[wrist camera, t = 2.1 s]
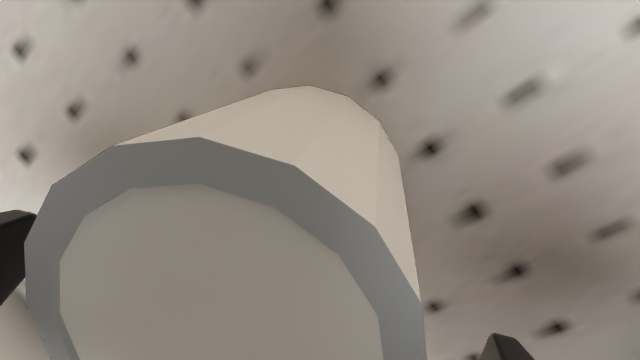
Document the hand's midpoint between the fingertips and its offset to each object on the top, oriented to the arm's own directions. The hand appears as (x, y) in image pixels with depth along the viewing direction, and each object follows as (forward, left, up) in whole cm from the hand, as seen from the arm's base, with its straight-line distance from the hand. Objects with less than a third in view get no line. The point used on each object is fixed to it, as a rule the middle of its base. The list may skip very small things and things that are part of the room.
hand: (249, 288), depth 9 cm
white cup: (0, 0, -6) cm, 6 cm away
